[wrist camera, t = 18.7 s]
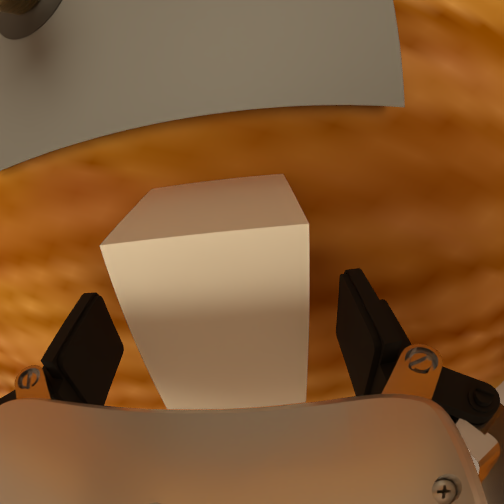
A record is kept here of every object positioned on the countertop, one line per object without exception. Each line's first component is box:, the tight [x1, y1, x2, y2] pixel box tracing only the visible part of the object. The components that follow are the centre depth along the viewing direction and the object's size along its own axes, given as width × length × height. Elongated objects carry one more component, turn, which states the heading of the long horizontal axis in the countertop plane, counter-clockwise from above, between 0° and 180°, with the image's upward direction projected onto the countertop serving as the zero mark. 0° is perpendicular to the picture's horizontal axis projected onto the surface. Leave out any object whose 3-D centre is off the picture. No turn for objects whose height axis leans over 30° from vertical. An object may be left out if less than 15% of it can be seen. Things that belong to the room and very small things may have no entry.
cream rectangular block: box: [100, 174, 310, 409], centre depth 13 cm, size 8×6×6 cm
